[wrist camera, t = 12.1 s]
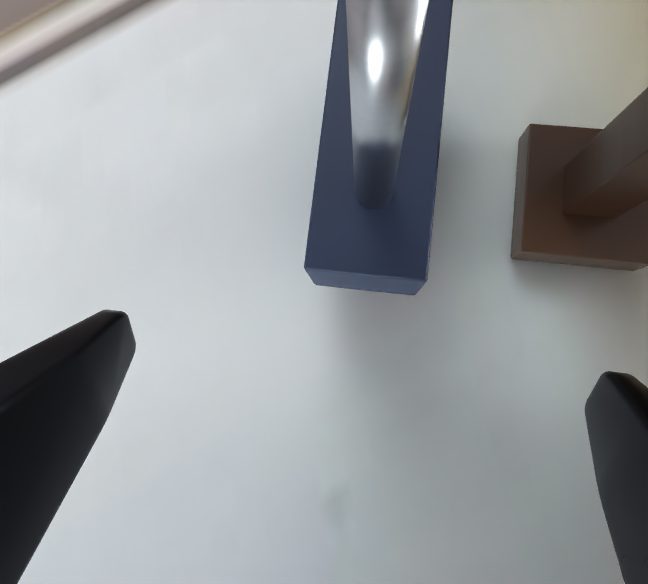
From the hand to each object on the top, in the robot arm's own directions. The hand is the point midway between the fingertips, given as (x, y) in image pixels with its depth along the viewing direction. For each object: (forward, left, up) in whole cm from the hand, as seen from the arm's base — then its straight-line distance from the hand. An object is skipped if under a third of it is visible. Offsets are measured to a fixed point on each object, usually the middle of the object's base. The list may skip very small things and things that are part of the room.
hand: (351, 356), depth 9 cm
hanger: (+7, 0, -7) cm, 10 cm away
